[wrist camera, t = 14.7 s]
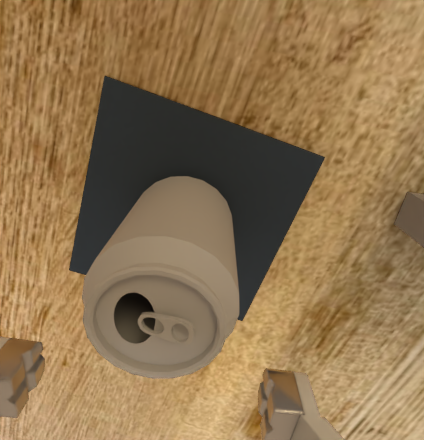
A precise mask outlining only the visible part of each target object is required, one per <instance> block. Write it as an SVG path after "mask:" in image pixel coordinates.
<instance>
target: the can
mask: <svg viewBox="0 0 424 440" xmlns="http://www.w3.org/2000/svg"><path fill="white" fill-rule="evenodd" d="M82 299H83V303H84V306H85V307H84V315H83V323H84V326H85V330H86V334H87V337H88V339H89V340H90V342H91V343H92V345H93V346H94V347H95V349H96V350H97V352H98V353H99V354H100V355H101V356H103V357H104V358H105V359H106V360H108V361H109V362H110V363H112V364H113V365H114V366H116V367H118V368H120V369H122V370H125V371H127V372H129V373H131V374H134V375H139V376H143V377H148V378H176V377H180V376H184V375H188V374H192V373H194V372H196V371H198V370H199V369H201V368H203V367H205V366H206V365H208V364H210V362H211V361H212V360H213V359H214V358H215V357H216V356H217V355H218V354H219V353H220V352H221V350H222V347H223V344H224V342H225V339H226V338H227V337H228V336H229V335H230V334H231V333H232V331H233V329H234V326H235V324H236V321H237V319H238V316H239V287H238V276H237V265H236V255H235V244H234V233H233V222H232V214H231V212H230V209H229V206H228V204H227V201H226V200H225V199H224V197H223V196H222V195H221V194H220V193H219V191H218V190H217V189H216V188H214V187H212V186H211V185H209V184H208V183H206V182H205V181H203V180H200V179H196V178H192V177H189V176H176V177H169V178H166V179H163V180H160V181H158V182H155V183H154V184H153V185H152V186H150V187H149V188H148V189H147V190H146V191H144V192H143V194H142V195H141V197H140V198H139V199H138V201H137V202H136V204H135V205H134V206H133V208H132V209H131V210H130V212H129V213H128V215H127V216H126V217H125V219H124V220H123V222H122V223H121V224H120V226H119V227H118V228H117V230H116V231H115V233H114V234H113V235H112V237H111V238H110V240H109V241H108V242H107V244H106V245H105V246H104V248H103V249H102V251H101V252H100V253H99V255H98V256H97V258H96V259H95V261H94V262H93V264H92V266H91V267H90V269H89V271H88V273H87V274H86V276H85V278H84V286H83V295H82Z"/></svg>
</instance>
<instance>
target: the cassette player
mask: <svg viewBox="0 0 424 440" xmlns="http://www.w3.org/2000/svg"><path fill="white" fill-rule="evenodd" d="M394 224H395V225H396V226H397V227H398V228H400V229H401V230H402V231H403V232H405V233H406V234H407V235H408V236H410V237H411V238H412V239H413V240H415V241H416V242H417V243H419V244H420V245H421V246H422V247H424V194H420V193H413V192H407V194H406V197H405V199H404V202H403V204H402V206H401V209H400V211H399V214H398V216H397V218H396V221H395V223H394Z"/></svg>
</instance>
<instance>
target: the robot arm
mask: <svg viewBox="0 0 424 440" xmlns="http://www.w3.org/2000/svg"><path fill="white" fill-rule="evenodd" d="M42 351H43V345H42V343H41V342H36V341H29V340H23V339H16V338H8V337H0V417H12V418H17V417H18V416H19V414H20V413H21V411H22V409H23V408H24V406H25V404H26V403H27V401H28V400H29V395H28V392H29V391H31V390H32V389H34V388H35V387H36V386H37V385H38V383H39V381H40V380H41V377H42V375H43V372H44V367H45V359H44V357H43V356H42V355H41V352H42ZM258 410H259V413H260V414H261V416H262V421H261V424H260V427H261V435H262V440H344V438H343V437H342V436H341V435H340V434H339V433H338V432H337V431H336V429H335V428H334V427H333V426H332V425H331V424H330V423H329V422H328V420H327V419H326V418H325V417H321V416H320V413H319V410H318V407H317V403H316V400H315V397H314V394H313V390H312V387H311V384H310V381H309V378H308V375H307V374H306V373H301V372H292V371H286V370H276V369H267V368H266V369H265V370H264V372H263V382H262V383H260V386H259V390H258Z"/></svg>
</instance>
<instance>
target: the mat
mask: <svg viewBox="0 0 424 440" xmlns="http://www.w3.org/2000/svg"><path fill="white" fill-rule="evenodd" d="M324 158H325V157H323V156H320V155H317V154H315V153H312V152H309V151H307V150H304V149H301V148H299V147H296V146H293V145H290V144H288V143H285V142H282V141H280V140H277V139H274V138H272V137H269V136H266V135H263V134H261V133H258V132H255V131H253V130H250V129H247V128H245V127H242V126H239V125H237V124H234V123H231V122H228V121H226V120H223V119H220V118H218V117H215V116H212V115H210V114H207V113H204V112H201V111H199V110H196V109H193V108H191V107H188V106H185V105H183V104H180V103H177V102H174V101H172V100H169V99H166V98H164V97H161V96H158V95H156V94H153V93H150V92H148V91H145V90H142V89H139V88H137V87H134V86H131V85H129V84H126V83H123V82H121V81H118V80H115V79H112V78H110V77H107V76H105V77H104V83H103V88H102V94H101V99H100V104H99V110H98V115H97V121H96V126H95V132H94V137H93V143H92V148H91V154H90V159H89V165H88V170H87V176H86V181H85V186H84V192H83V197H82V203H81V208H80V214H79V219H78V225H77V230H76V236H75V241H74V247H73V252H72V257H71V263H70V268H69V270H71V271H74V272H77V273H81V274H84V275H86V274H87V273H88V271H89V269H90V267H91V266H92V264H93V262H94V261H95V259H96V258H97V256H98V255H99V253H100V252H101V251H102V249H103V248H104V246H105V245H106V244H107V242H108V241H109V240H110V238H111V237H112V235H113V234H114V233H115V231H116V230H117V228H118V227H119V226H120V224H121V223H122V222H123V220H124V219H125V217H126V216H127V215H128V213H129V212H130V210H131V209H132V208H133V206H134V205H135V204H136V202H137V201H138V199H139V198H140V197H141V195H142V194H143V192H144V191H146V190H147V189H148V188H149V187H150V186H152V185H153V184H154V183H155V182H158V181H160V180H163V179H166V178H169V177H176V176H189V177H192V178H196V179H200V180H203V181H205V182H206V183H208V184H209V185H211V186H212V187H214V188H216V189H217V190H218V191H219V193H220V194H221V195H222V196H223V197H224V199H225V200H226V201H227V204H228V206H229V209H230V212H231V214H232V222H233V233H234V244H235V255H236V265H237V276H238V287H239V316H238V320H241V321H242V320H243V318H244V316H245V315H246V313H247V311H248V309H249V307H250V305H251V303H252V301H253V299H254V297H255V295H256V293H257V291H258V289H259V287H260V285H261V283H262V281H263V279H264V277H265V275H266V273H267V271H268V269H269V267H270V265H271V263H272V261H273V259H274V257H275V255H276V253H277V251H278V249H279V247H280V245H281V243H282V241H283V239H284V237H285V235H286V233H287V231H288V230H289V228H290V226H291V224H292V222H293V220H294V218H295V216H296V214H297V212H298V210H299V208H300V206H301V204H302V202H303V200H304V198H305V196H306V194H307V192H308V190H309V188H310V186H311V184H312V182H313V180H314V178H315V176H316V174H317V172H318V170H319V168H320V166H321V164H322V162H323V160H324Z"/></svg>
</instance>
